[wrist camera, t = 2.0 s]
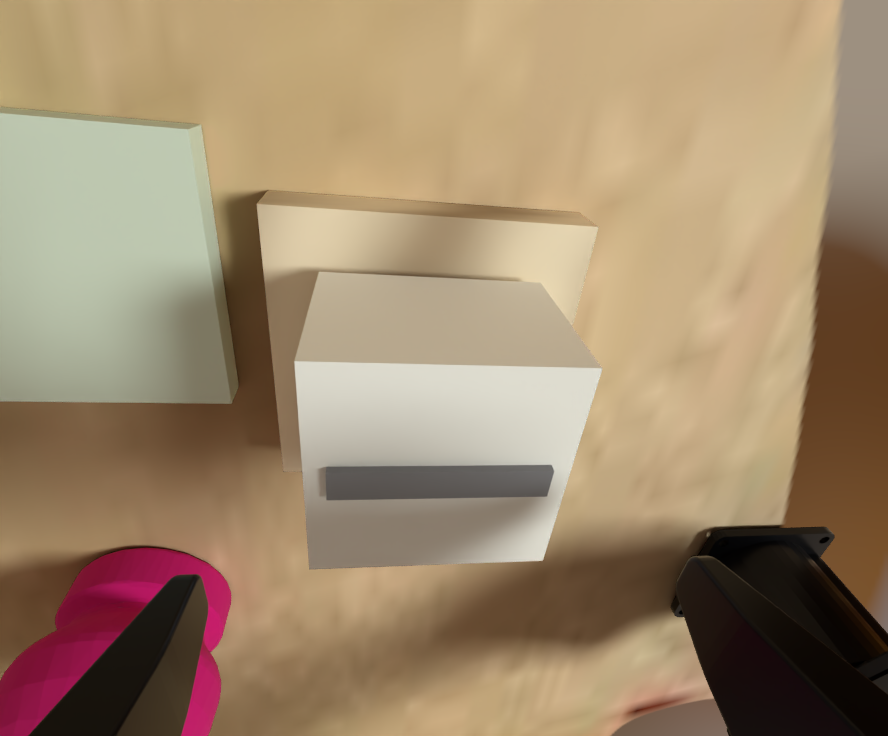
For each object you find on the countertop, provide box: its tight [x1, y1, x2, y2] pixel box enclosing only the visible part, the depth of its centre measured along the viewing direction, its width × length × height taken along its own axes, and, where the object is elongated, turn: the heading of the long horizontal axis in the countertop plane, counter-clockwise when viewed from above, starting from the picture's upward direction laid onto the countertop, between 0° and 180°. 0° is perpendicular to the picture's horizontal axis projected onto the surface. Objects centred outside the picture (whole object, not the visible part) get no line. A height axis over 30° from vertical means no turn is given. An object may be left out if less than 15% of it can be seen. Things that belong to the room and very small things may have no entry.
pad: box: [0, 107, 239, 404], centre depth 14 cm, size 8×8×1 cm
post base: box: [257, 190, 598, 472], centre depth 14 cm, size 9×9×6 cm
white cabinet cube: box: [294, 272, 602, 569], centre depth 13 cm, size 6×6×5 cm
